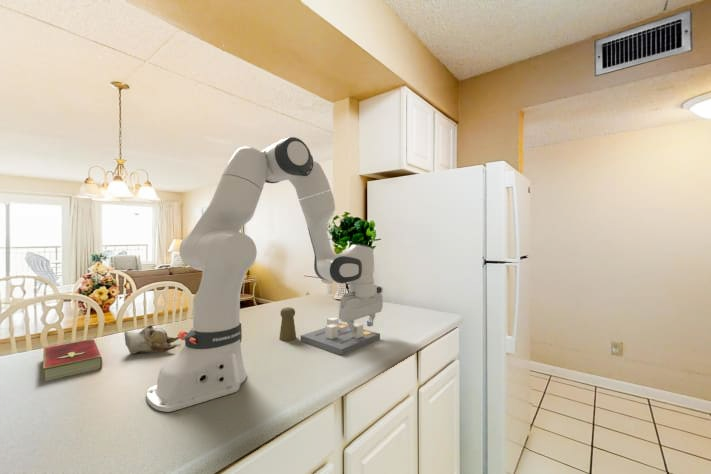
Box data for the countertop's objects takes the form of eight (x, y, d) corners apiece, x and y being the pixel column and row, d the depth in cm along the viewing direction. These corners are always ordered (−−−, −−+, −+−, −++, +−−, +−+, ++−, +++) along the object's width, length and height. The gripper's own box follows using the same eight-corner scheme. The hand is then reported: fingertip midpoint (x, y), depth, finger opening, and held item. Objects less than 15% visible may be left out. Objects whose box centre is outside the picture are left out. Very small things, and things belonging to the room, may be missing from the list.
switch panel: (341, 355, 98) (341, 348, 98) (300, 341, 111) (300, 334, 111) (380, 339, 113) (380, 333, 113) (339, 328, 126) (339, 322, 126)
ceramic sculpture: (130, 322, 104) (181, 320, 110) (128, 348, 104) (179, 345, 110) (119, 331, 94) (176, 329, 100) (117, 360, 94) (174, 356, 100)
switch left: (332, 331, 115) (332, 320, 115) (327, 329, 117) (327, 318, 117) (338, 329, 118) (338, 318, 118) (332, 327, 120) (332, 317, 120)
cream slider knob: (357, 338, 107) (357, 326, 107) (351, 336, 109) (351, 325, 109) (363, 336, 110) (363, 324, 110) (356, 334, 112) (356, 323, 112)
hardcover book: (94, 350, 104) (94, 337, 104) (102, 369, 89) (102, 354, 89) (43, 360, 96) (43, 346, 96) (43, 384, 81) (42, 367, 81)
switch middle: (331, 339, 107) (331, 327, 106) (325, 337, 108) (325, 325, 108) (337, 337, 109) (337, 325, 109) (331, 335, 111) (331, 324, 111)
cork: (298, 335, 117) (298, 306, 117) (293, 341, 111) (293, 310, 111) (282, 335, 118) (282, 305, 117) (276, 340, 112) (276, 309, 111)
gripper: (348, 295, 101) (348, 338, 102) (385, 287, 117) (385, 324, 117) (334, 293, 105) (334, 334, 106) (372, 285, 121) (372, 321, 121)
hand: (361, 329), depth 111 cm, fingers open, 8 cm apart
